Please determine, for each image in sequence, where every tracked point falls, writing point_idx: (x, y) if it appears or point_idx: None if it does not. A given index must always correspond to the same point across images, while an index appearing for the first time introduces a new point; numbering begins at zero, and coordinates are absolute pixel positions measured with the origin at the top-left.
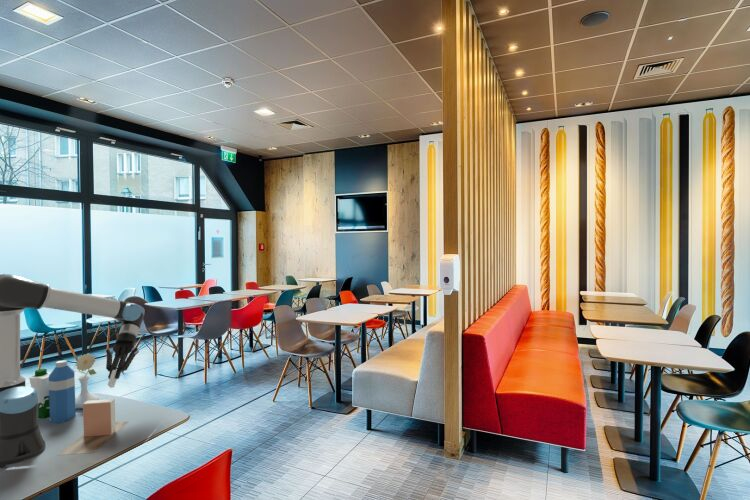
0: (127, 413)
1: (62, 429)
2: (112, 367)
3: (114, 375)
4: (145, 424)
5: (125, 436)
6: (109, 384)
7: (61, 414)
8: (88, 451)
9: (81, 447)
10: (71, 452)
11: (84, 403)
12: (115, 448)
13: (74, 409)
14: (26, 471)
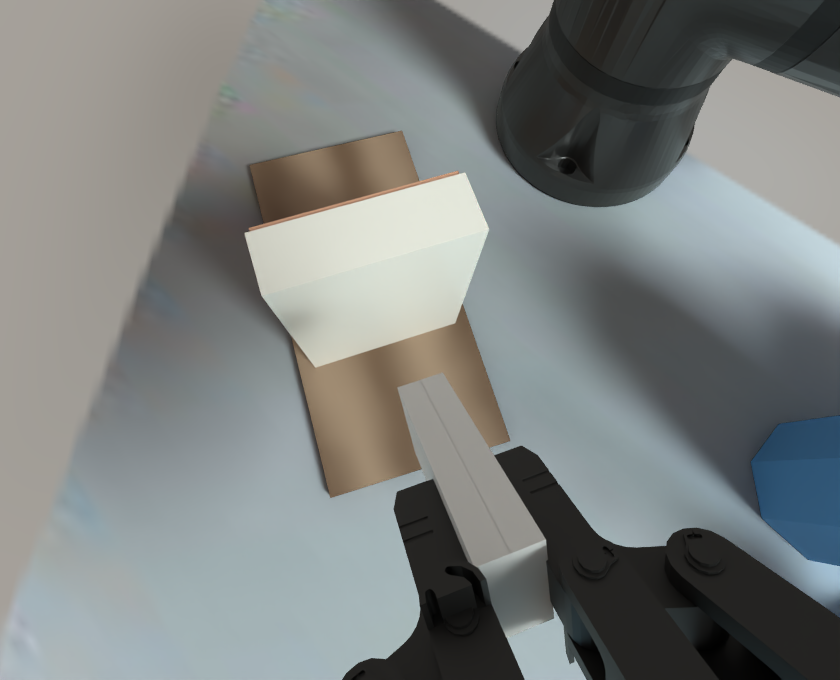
0: None
1: (663, 362)
2: (611, 597)
3: (436, 477)
4: (206, 503)
5: (227, 343)
6: (421, 380)
7: (807, 435)
8: (285, 169)
9: (352, 194)
10: (360, 154)
11: (454, 176)
12: (191, 231)
13: (806, 517)
14: (428, 49)
